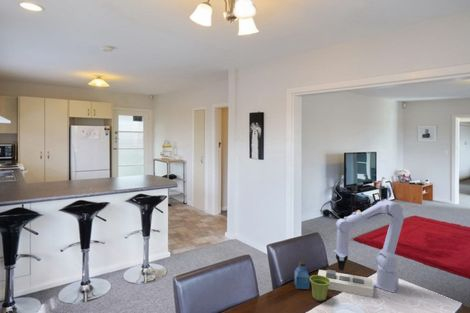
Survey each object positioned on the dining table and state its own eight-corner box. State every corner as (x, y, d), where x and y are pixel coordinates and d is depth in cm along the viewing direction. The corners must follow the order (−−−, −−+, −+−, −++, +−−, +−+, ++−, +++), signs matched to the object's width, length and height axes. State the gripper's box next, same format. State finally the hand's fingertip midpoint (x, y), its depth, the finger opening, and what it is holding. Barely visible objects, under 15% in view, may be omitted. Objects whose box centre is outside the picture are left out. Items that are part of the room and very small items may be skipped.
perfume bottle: (309, 289, 151) (309, 265, 150) (296, 288, 151) (297, 265, 150) (306, 283, 157) (307, 260, 156) (294, 282, 157) (295, 260, 156)
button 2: (362, 287, 153) (362, 279, 153) (362, 291, 149) (363, 283, 149) (353, 285, 154) (353, 277, 154) (353, 289, 150) (353, 281, 150)
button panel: (371, 286, 155) (371, 278, 155) (373, 297, 144) (373, 289, 143) (318, 276, 164) (319, 269, 164) (316, 286, 153) (316, 279, 153)
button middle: (348, 284, 155) (349, 277, 155) (348, 288, 151) (349, 280, 151) (339, 283, 157) (340, 275, 156) (339, 286, 153) (339, 279, 152)
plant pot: (330, 294, 146) (330, 277, 145) (329, 304, 137) (330, 285, 136) (310, 291, 149) (310, 273, 148) (308, 300, 140) (308, 282, 139)
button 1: (335, 278, 157) (335, 270, 157) (335, 282, 153) (335, 274, 153) (326, 276, 159) (327, 269, 159) (326, 280, 155) (326, 272, 155)
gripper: (334, 237, 161) (333, 262, 162) (333, 246, 148) (332, 273, 149) (348, 239, 159) (347, 265, 160) (348, 248, 145) (347, 276, 146)
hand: (341, 269), depth 154 cm, fingers closed
